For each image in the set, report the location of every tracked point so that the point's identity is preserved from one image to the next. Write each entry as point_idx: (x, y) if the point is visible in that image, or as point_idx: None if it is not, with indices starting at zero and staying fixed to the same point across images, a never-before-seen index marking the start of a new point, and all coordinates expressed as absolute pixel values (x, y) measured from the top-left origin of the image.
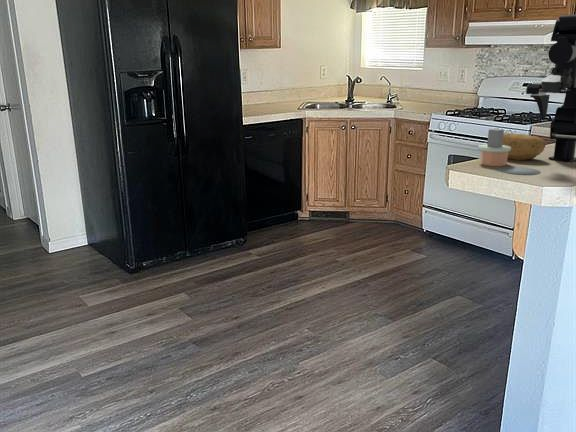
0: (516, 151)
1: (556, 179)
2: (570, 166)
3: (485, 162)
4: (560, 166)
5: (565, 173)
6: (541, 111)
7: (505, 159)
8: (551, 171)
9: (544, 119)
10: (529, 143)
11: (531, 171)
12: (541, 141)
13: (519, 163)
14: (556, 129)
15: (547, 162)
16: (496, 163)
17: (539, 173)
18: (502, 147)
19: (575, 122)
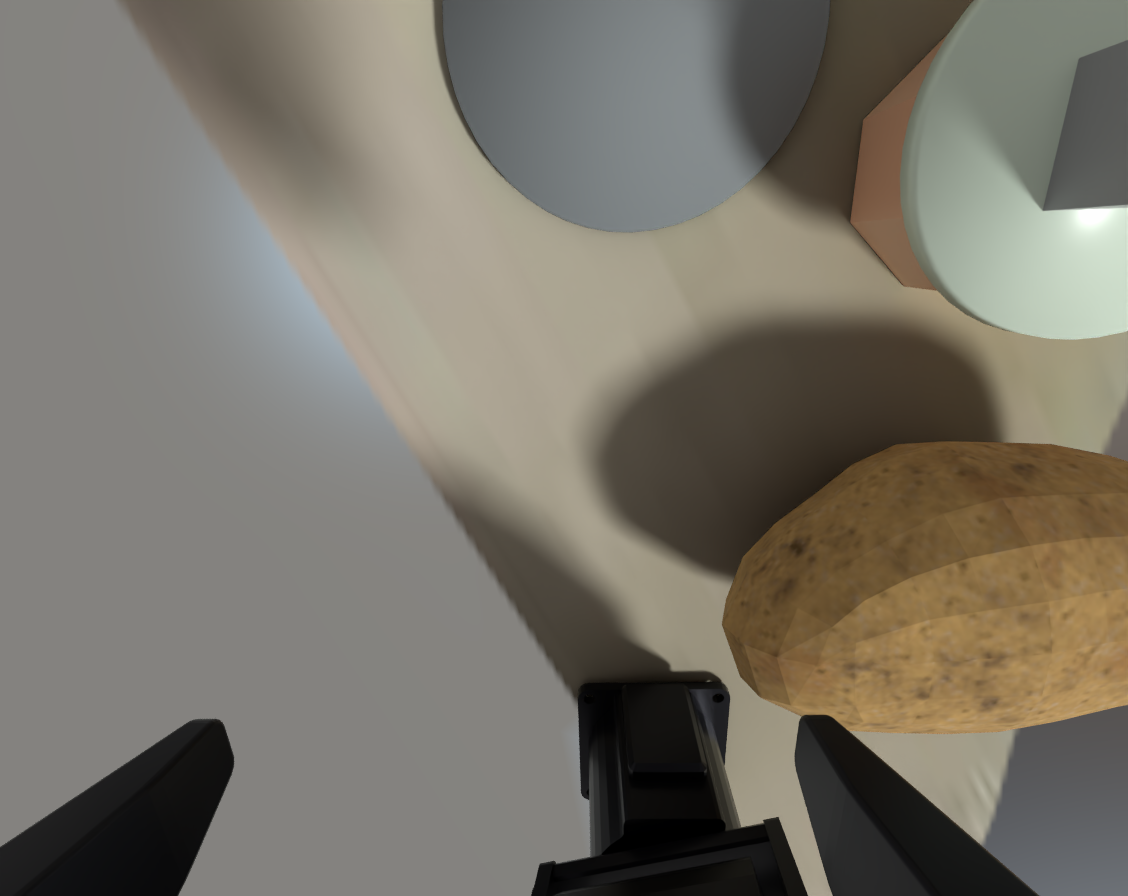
0: (907, 451)
1: (264, 22)
2: (500, 575)
3: None
4: (542, 528)
5: (375, 323)
6: (945, 866)
7: (887, 183)
8: (480, 310)
9: (799, 762)
10: (843, 545)
11: (544, 98)
12: (764, 645)
13: (812, 406)
14: (729, 886)
15: (676, 588)
16: (921, 72)
17: (451, 72)
18: (1023, 168)
19: (188, 726)
